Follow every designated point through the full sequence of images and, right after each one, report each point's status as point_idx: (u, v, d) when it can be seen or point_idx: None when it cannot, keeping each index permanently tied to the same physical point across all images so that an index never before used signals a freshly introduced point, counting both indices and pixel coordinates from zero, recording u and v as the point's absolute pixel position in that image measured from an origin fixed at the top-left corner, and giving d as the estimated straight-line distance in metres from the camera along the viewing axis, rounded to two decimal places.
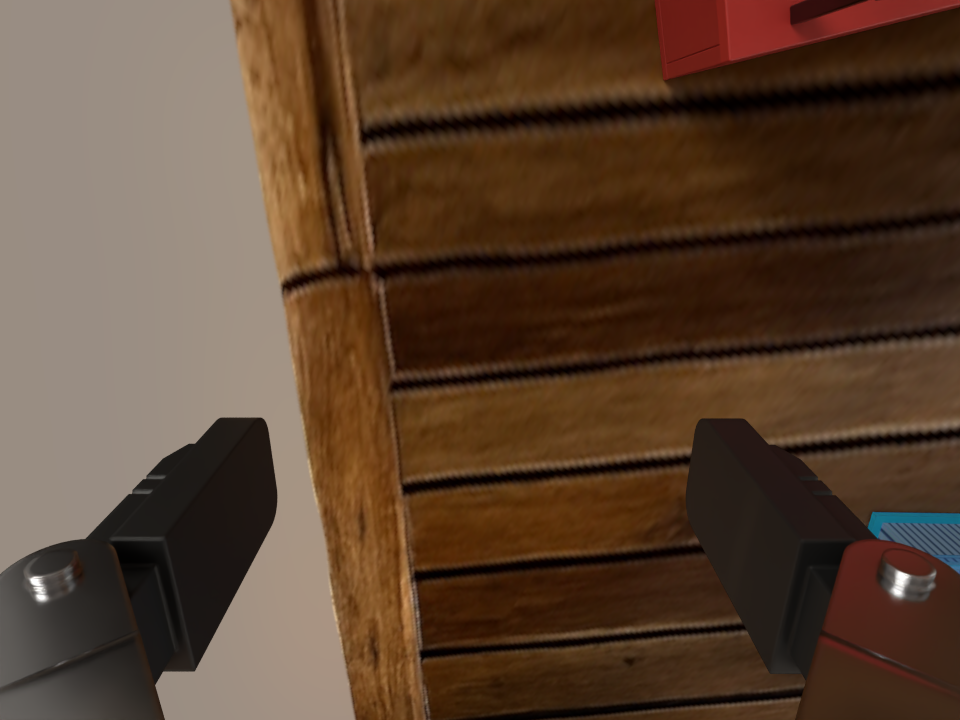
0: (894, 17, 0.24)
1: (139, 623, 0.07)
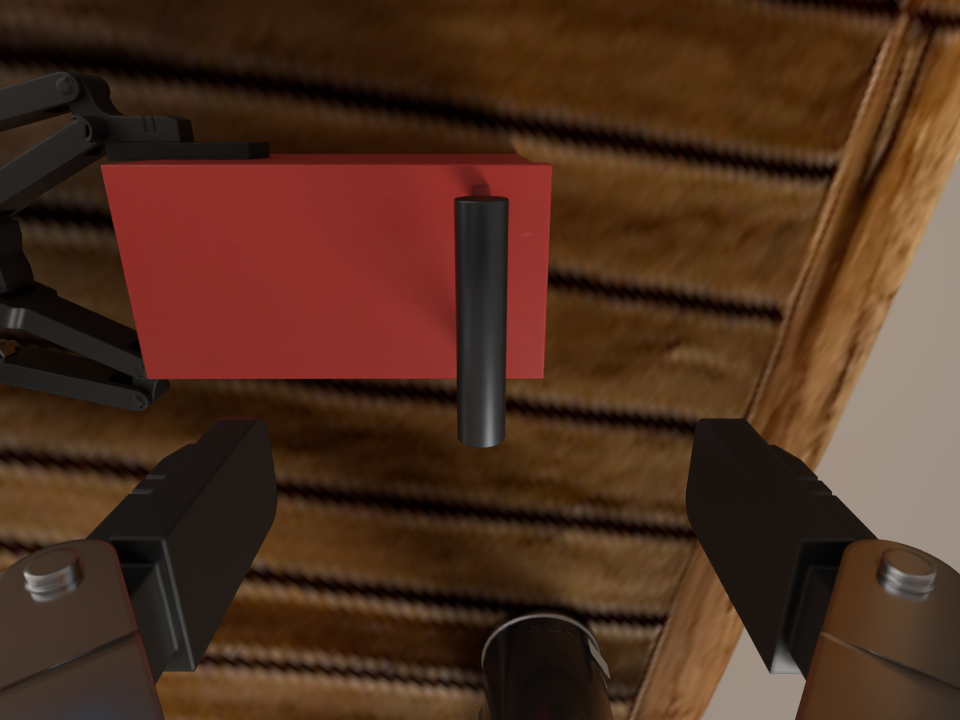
0: (384, 167, 0.23)
1: (139, 623, 0.07)
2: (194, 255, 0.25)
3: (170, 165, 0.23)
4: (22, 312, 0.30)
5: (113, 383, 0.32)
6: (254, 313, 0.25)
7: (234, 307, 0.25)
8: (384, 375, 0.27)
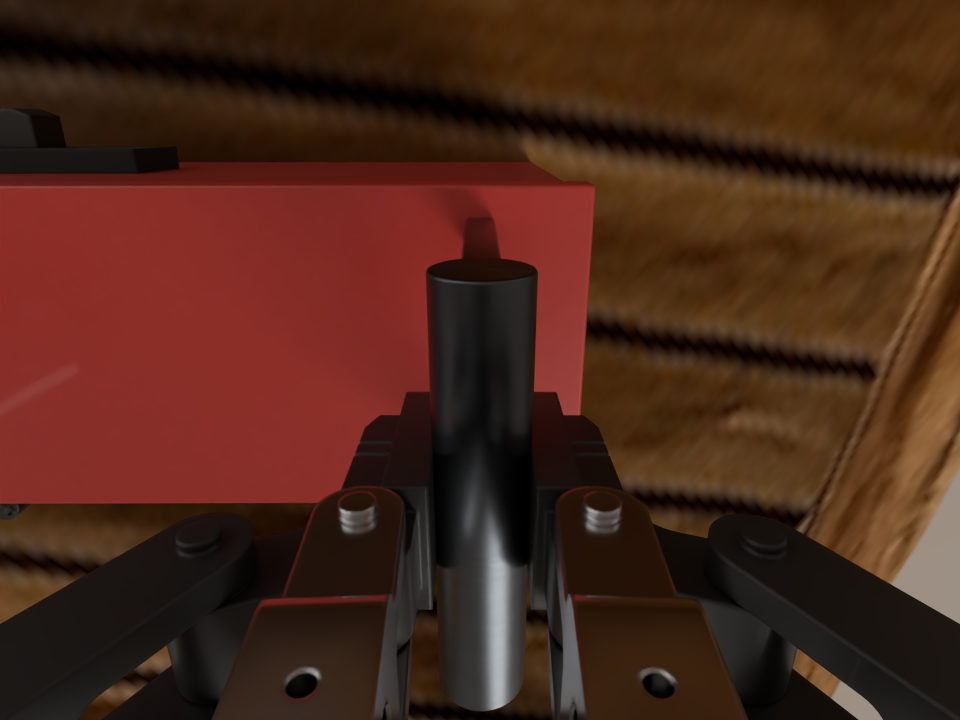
0: (325, 190, 0.14)
1: (413, 560, 0.08)
2: (31, 327, 0.16)
3: None
4: None
5: None
6: (133, 411, 0.17)
7: (101, 402, 0.16)
8: None
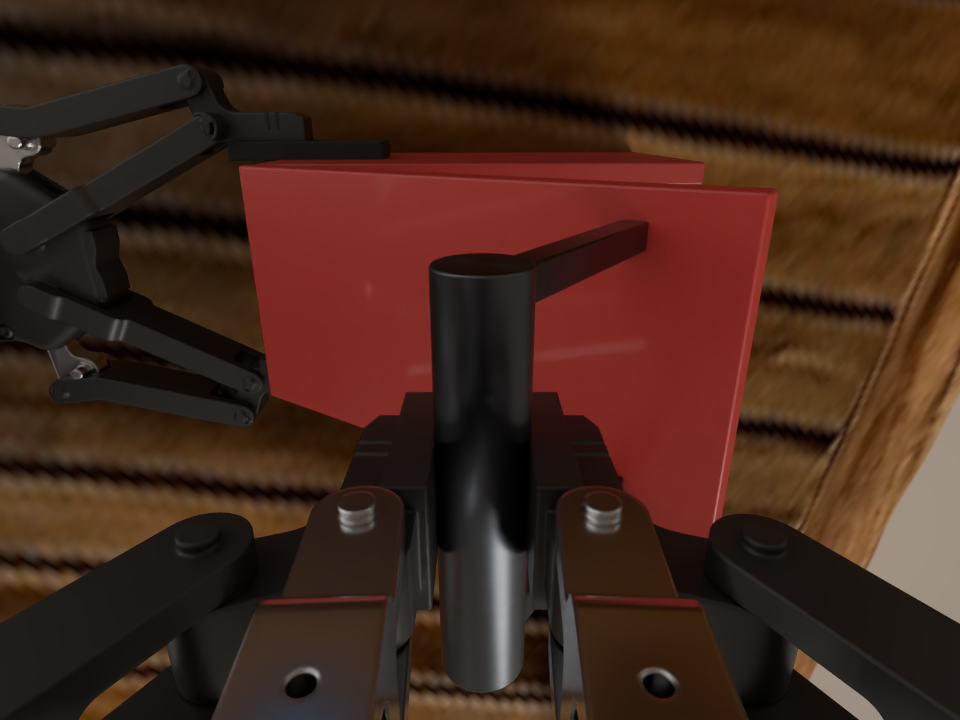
0: (499, 183, 0.16)
1: (413, 560, 0.08)
2: (306, 274, 0.21)
3: (289, 169, 0.20)
4: (125, 324, 0.28)
5: (216, 398, 0.30)
6: (355, 351, 0.21)
7: (338, 339, 0.21)
8: None
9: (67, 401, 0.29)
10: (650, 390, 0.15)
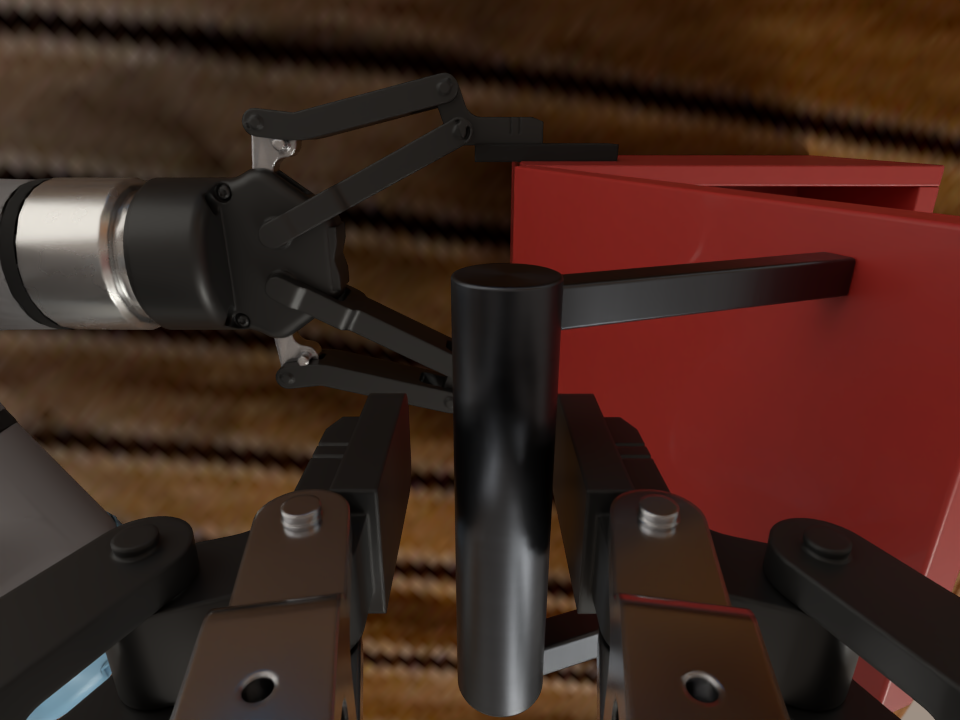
0: (703, 196, 0.14)
1: (361, 563, 0.08)
2: None
3: (545, 171, 0.21)
4: (355, 314, 0.30)
5: (428, 385, 0.32)
6: (568, 353, 0.21)
7: None
8: None
9: (291, 386, 0.31)
10: (829, 477, 0.12)
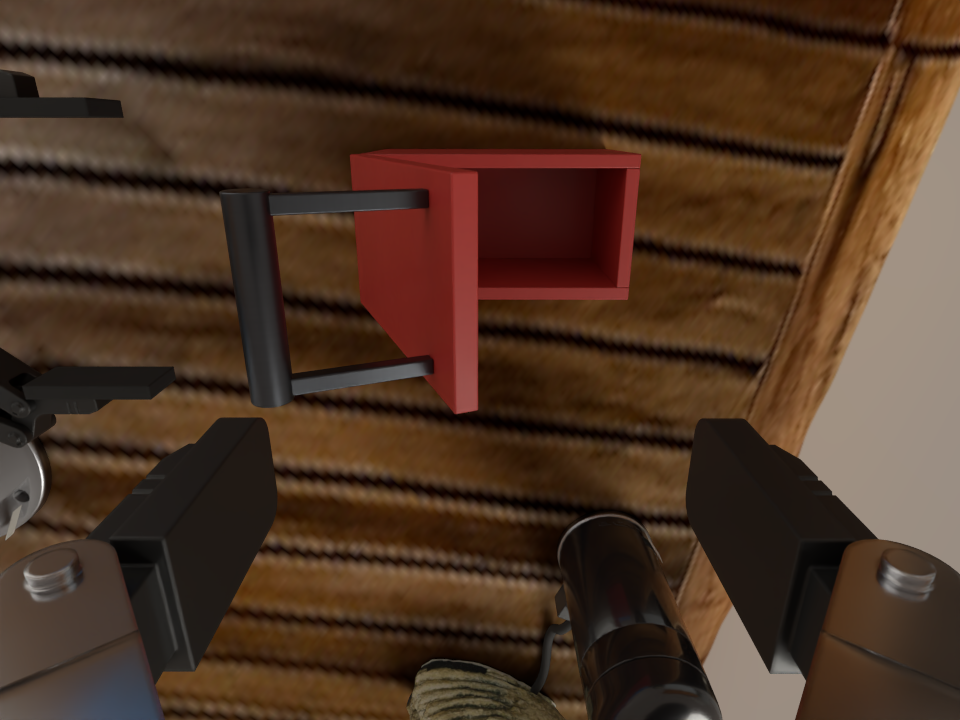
0: (398, 165, 0.26)
1: (139, 623, 0.07)
2: (364, 222, 0.34)
3: (359, 156, 0.33)
4: None
5: None
6: (376, 272, 0.33)
7: (372, 265, 0.34)
8: (405, 352, 0.29)
9: None
10: (435, 299, 0.24)
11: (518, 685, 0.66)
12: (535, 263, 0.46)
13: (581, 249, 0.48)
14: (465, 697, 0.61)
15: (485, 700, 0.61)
